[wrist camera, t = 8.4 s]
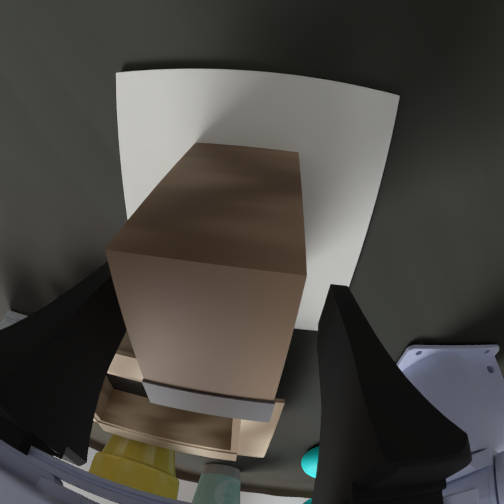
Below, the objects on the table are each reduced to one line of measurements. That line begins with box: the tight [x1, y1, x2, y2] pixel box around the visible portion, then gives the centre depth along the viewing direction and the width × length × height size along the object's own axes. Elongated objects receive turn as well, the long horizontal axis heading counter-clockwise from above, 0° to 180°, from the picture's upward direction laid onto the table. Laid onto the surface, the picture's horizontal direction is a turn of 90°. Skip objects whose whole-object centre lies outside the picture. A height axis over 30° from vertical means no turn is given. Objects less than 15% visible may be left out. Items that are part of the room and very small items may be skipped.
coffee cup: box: [192, 463, 240, 504], centre depth 37 cm, size 8×8×12 cm
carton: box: [93, 331, 285, 461], centre depth 23 cm, size 19×17×4 cm
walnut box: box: [105, 143, 307, 423], centre depth 12 cm, size 4×7×8 cm, turn 176°
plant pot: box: [89, 434, 179, 500], centre depth 30 cm, size 10×10×10 cm
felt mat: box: [116, 69, 400, 331], centre depth 15 cm, size 12×14×1 cm
